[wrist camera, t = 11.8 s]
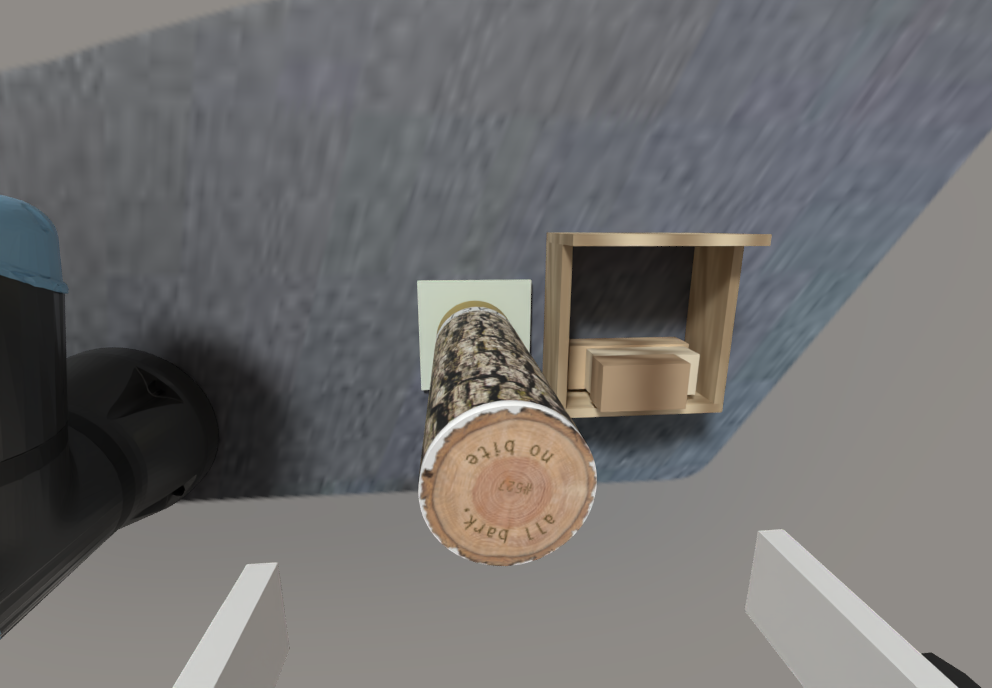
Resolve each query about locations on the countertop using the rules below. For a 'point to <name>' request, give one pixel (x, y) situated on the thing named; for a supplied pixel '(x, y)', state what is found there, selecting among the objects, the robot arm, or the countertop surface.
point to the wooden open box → (705, 316)
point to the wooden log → (498, 446)
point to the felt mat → (449, 293)
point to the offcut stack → (633, 372)
